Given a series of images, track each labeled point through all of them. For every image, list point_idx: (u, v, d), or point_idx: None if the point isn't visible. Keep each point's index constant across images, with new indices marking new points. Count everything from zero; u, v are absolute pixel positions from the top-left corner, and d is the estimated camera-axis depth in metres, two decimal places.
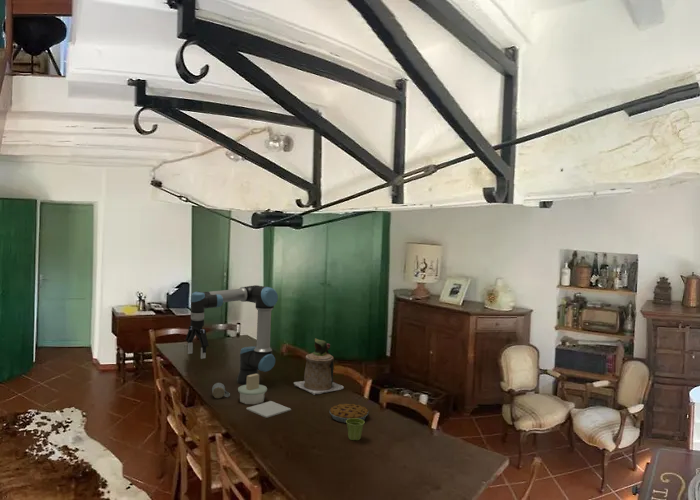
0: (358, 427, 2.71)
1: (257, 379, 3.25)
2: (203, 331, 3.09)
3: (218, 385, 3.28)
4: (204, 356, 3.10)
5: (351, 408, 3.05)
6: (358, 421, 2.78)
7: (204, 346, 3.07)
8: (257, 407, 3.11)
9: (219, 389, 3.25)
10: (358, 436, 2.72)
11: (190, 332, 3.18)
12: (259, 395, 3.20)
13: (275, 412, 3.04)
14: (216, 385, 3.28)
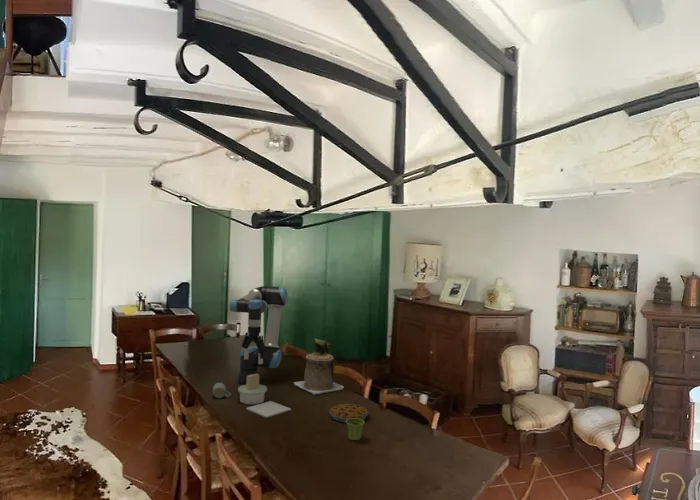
0: (358, 427, 2.71)
1: (257, 379, 3.25)
2: (261, 337, 3.18)
3: (219, 385, 3.28)
4: (261, 362, 3.19)
5: (351, 408, 3.05)
6: (358, 421, 2.78)
7: (262, 352, 3.16)
8: (257, 407, 3.11)
9: (220, 389, 3.25)
10: (358, 436, 2.72)
11: (246, 338, 3.27)
12: (259, 395, 3.20)
13: (275, 412, 3.04)
14: (217, 385, 3.28)
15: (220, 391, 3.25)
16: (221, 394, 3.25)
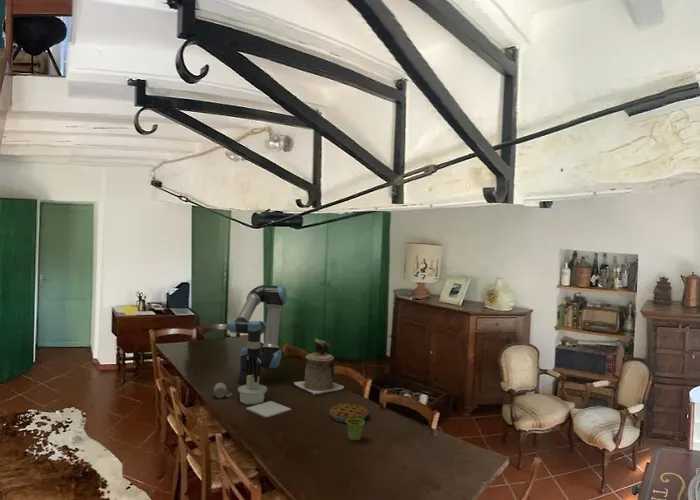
0: (358, 427, 2.71)
1: (257, 379, 3.25)
2: (259, 362, 3.20)
3: (220, 385, 3.28)
4: (255, 385, 3.24)
5: (351, 408, 3.05)
6: (358, 421, 2.78)
7: (256, 376, 3.20)
8: (257, 407, 3.11)
9: (221, 389, 3.25)
10: (358, 436, 2.72)
11: (248, 362, 3.27)
12: (259, 395, 3.20)
13: (275, 412, 3.04)
14: (218, 385, 3.28)
15: (221, 391, 3.25)
16: (222, 394, 3.26)
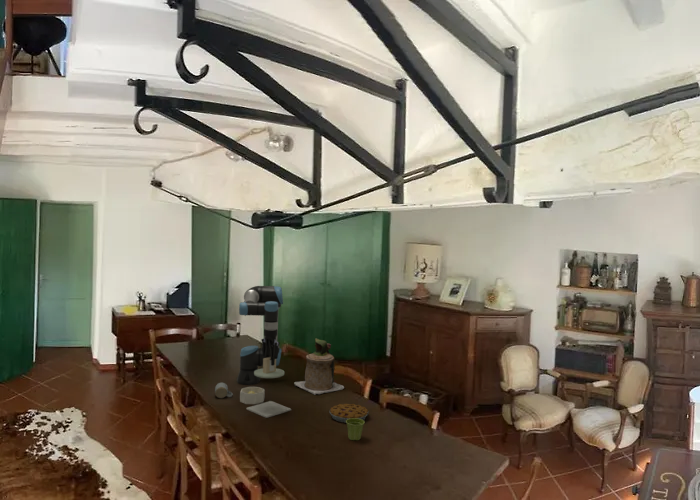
0: (358, 427, 2.71)
1: None
2: (277, 344, 3.04)
3: (221, 385, 3.28)
4: (272, 369, 3.08)
5: (351, 408, 3.05)
6: (358, 421, 2.78)
7: (273, 359, 3.05)
8: (257, 407, 3.11)
9: (222, 389, 3.25)
10: (358, 436, 2.72)
11: (264, 345, 3.11)
12: (259, 395, 3.20)
13: (275, 412, 3.04)
14: (219, 385, 3.29)
15: (222, 391, 3.25)
16: (223, 394, 3.26)
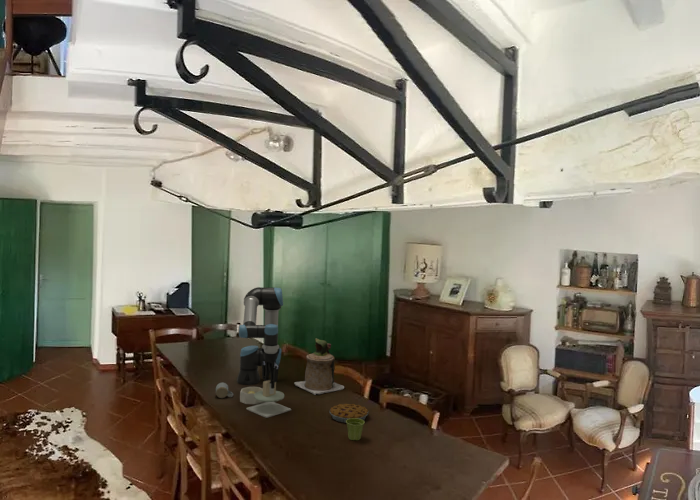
0: (358, 427, 2.71)
1: None
2: (277, 368, 3.05)
3: (222, 385, 3.28)
4: (272, 392, 3.09)
5: (351, 408, 3.05)
6: (358, 421, 2.78)
7: (273, 382, 3.05)
8: (257, 407, 3.11)
9: (222, 389, 3.25)
10: (358, 436, 2.72)
11: (264, 368, 3.12)
12: None
13: (275, 412, 3.04)
14: (220, 385, 3.29)
15: (223, 391, 3.26)
16: (224, 394, 3.26)
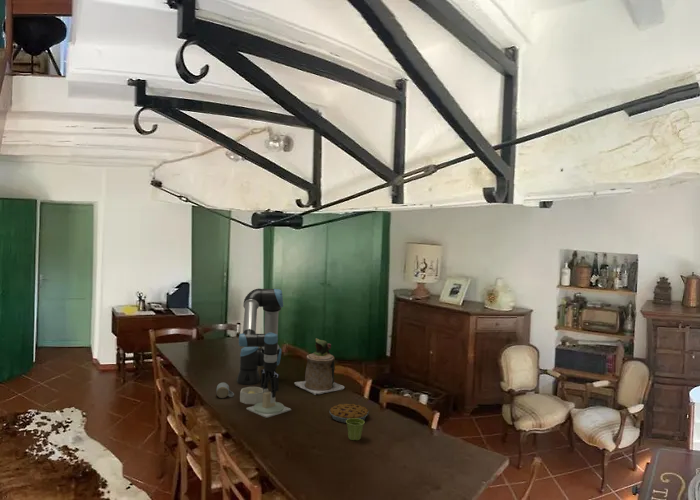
0: (358, 427, 2.71)
1: None
2: (277, 376, 3.05)
3: (222, 385, 3.29)
4: (273, 400, 3.08)
5: (351, 408, 3.05)
6: (358, 421, 2.78)
7: (274, 391, 3.05)
8: None
9: (223, 389, 3.26)
10: (358, 436, 2.72)
11: (263, 376, 3.12)
12: (259, 395, 3.20)
13: None
14: (220, 385, 3.29)
15: (223, 391, 3.26)
16: (224, 394, 3.26)
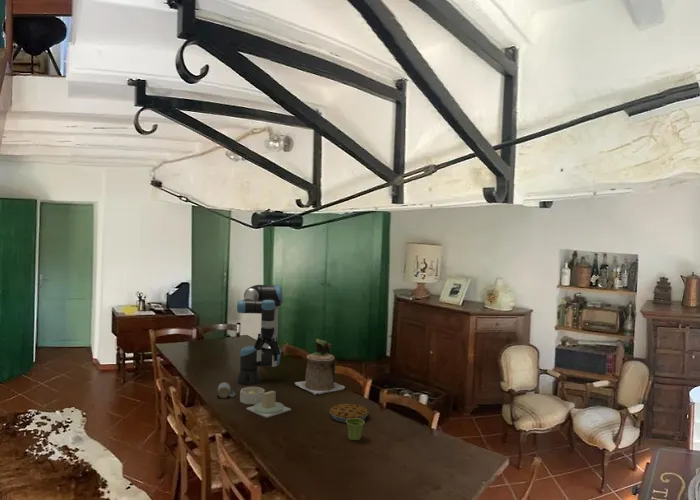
0: (358, 427, 2.71)
1: (273, 396, 3.11)
2: (274, 339, 3.08)
3: (223, 385, 3.29)
4: (275, 364, 3.09)
5: (351, 408, 3.05)
6: (358, 421, 2.78)
7: (276, 354, 3.06)
8: None
9: (224, 389, 3.26)
10: (358, 436, 2.72)
11: (259, 340, 3.16)
12: (259, 395, 3.20)
13: None
14: (222, 385, 3.29)
15: (225, 391, 3.26)
16: (226, 394, 3.26)
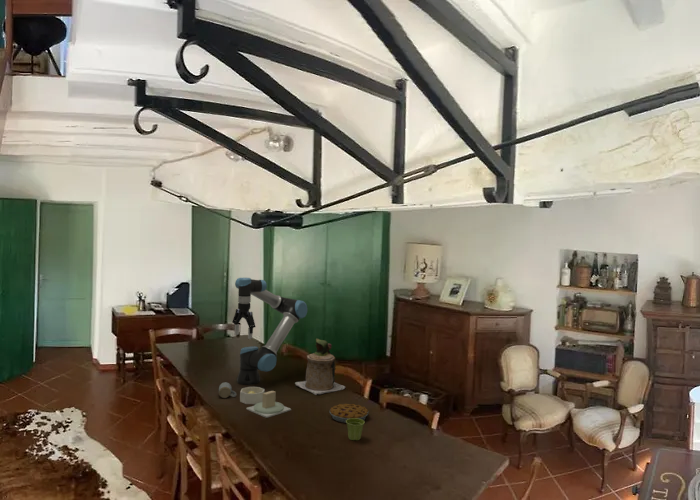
0: (358, 427, 2.71)
1: (273, 396, 3.11)
2: (250, 313, 3.33)
3: (225, 385, 3.29)
4: (251, 336, 3.34)
5: (351, 408, 3.05)
6: (358, 421, 2.78)
7: (251, 327, 3.31)
8: None
9: (225, 389, 3.26)
10: (358, 436, 2.72)
11: (237, 315, 3.42)
12: (259, 395, 3.20)
13: None
14: (223, 385, 3.29)
15: (226, 391, 3.26)
16: (227, 394, 3.26)
